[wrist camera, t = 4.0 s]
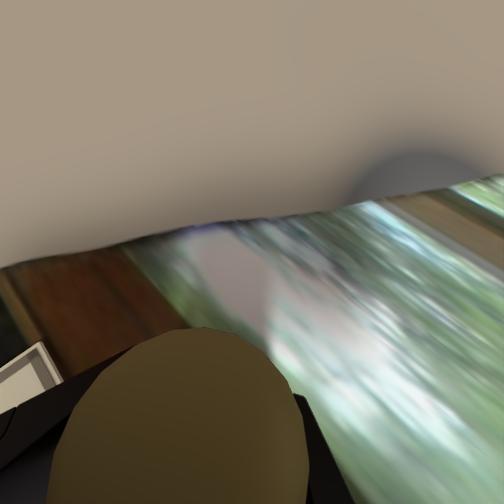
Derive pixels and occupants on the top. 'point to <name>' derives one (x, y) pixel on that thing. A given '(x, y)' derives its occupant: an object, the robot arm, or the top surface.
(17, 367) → the white flat square piece
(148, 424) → the brown peg figure
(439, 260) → the top surface
